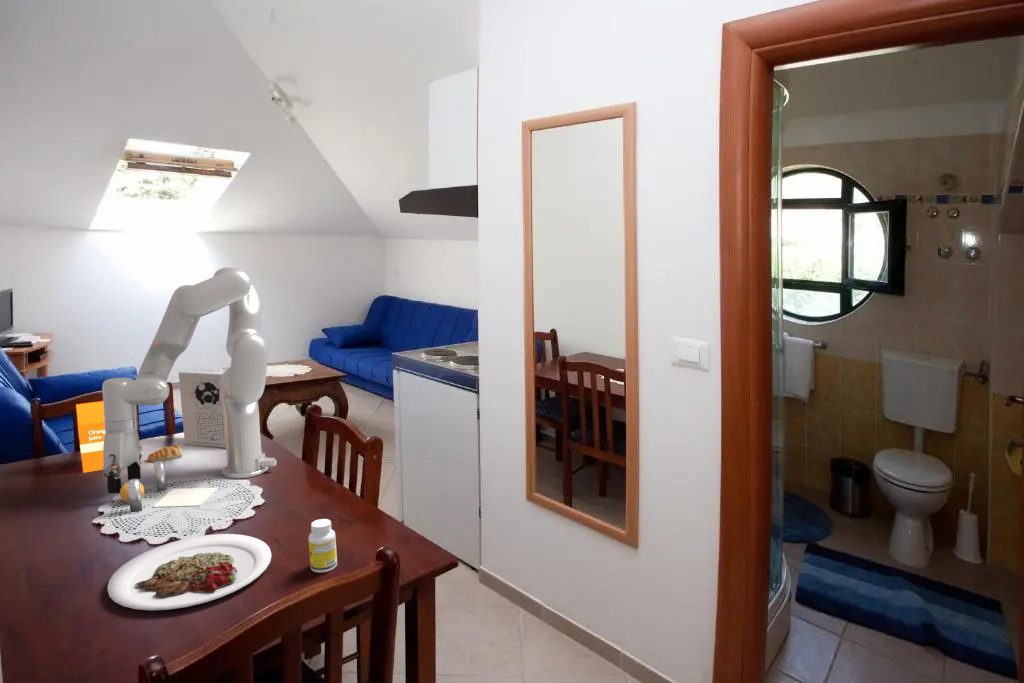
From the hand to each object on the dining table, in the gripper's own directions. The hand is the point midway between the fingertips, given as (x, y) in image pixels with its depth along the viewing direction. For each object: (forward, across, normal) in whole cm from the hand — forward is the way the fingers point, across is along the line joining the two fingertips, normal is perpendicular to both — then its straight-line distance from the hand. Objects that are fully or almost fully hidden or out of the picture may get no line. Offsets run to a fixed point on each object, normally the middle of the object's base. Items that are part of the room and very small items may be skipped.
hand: (124, 486), depth 173 cm
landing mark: (+2, +3, +17) cm, 18 cm away
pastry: (+2, -30, -3) cm, 30 cm away
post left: (+2, +11, +8) cm, 14 cm away
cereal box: (+2, -44, +8) cm, 44 cm away
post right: (+2, -2, +8) cm, 9 cm away
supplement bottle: (+1, +43, +63) cm, 76 cm away
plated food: (+3, +44, +37) cm, 57 cm away
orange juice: (+3, -24, -20) cm, 31 cm away
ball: (0, +5, +4) cm, 6 cm away
